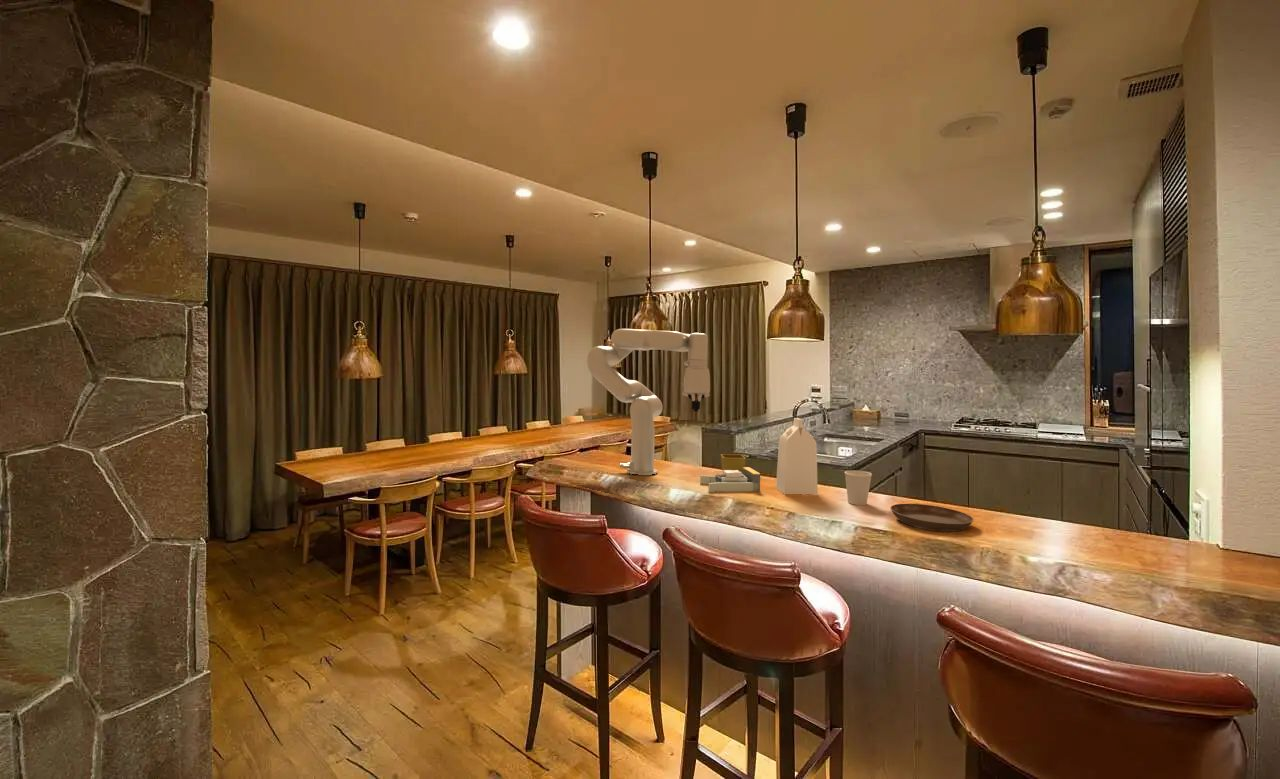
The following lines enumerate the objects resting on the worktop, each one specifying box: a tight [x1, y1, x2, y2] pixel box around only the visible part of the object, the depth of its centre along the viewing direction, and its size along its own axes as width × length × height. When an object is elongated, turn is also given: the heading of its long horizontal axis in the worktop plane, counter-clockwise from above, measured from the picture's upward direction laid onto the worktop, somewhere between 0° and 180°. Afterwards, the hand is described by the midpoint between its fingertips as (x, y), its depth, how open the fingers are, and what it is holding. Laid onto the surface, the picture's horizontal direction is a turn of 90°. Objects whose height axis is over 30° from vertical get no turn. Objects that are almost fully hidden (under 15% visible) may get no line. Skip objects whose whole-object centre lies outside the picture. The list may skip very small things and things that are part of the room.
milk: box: [775, 417, 819, 496], centre depth 188 cm, size 12×12×26 cm
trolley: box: [714, 470, 747, 482], centre depth 192 cm, size 10×7×6 cm
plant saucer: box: [890, 503, 974, 532], centre depth 150 cm, size 21×21×3 cm
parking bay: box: [699, 466, 761, 493], centre depth 192 cm, size 19×15×6 cm
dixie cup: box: [844, 470, 873, 506], centre depth 172 cm, size 8×8×10 cm
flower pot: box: [720, 453, 747, 474], centre depth 210 cm, size 9×9×9 cm
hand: (695, 411), depth 208 cm, fingers closed
